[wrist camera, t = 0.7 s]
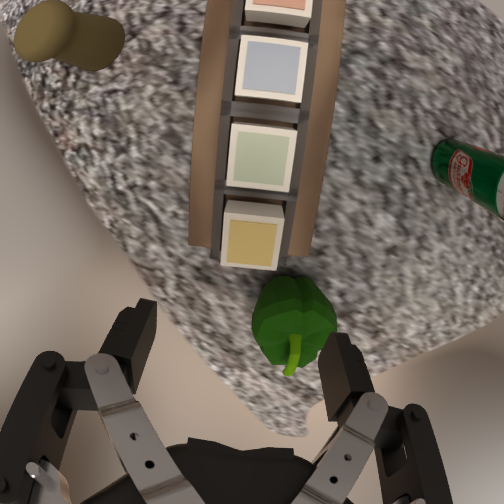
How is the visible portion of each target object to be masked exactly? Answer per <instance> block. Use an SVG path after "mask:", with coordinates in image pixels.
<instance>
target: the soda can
mask: <svg viewBox="0 0 504 504" xmlns="http://www.w3.org/2000/svg"><path fill="white" fill-rule="evenodd" d="M432 162H433V170H434V173H435V176H436V177H437V179H438V180H439V181H440V182H441V183H443V184H445V185H447V186H448V187H450V188H452V189H454V190H456V191H457V192H459V193H461V194H462V195H464V196H466V197H467V198H469V199H471V200H472V201H474V202H476V203H477V204H479V205H481V206H482V207H484V208H485V209H487V210H488V211H490V212H492V213H493V214H495V215H496V216H498V217H499V218H501V219H502V220H504V156H502V155H500V154H497V153H494V152H491V151H488V150H486V149H483V148H480V147H477V146H474V145H470V144H467V143H464V142H461V141H457V140H454V139H447V140H445V141H443V142H441V143H440V144H439V145H438V147H437V148H436V150H435V152H434V155H433V161H432Z"/></svg>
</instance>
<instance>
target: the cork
mask: <svg viewBox="0 0 504 504" xmlns="http://www.w3.org/2000/svg"><path fill="white" fill-rule="evenodd" d="M124 40H125V33H124V29H123V27H122V25H121V24H120V23H119V22H118V21H117V20H115V19H113V18H109V17H104V16H99V15H93V14H87V13H80V12H73V10H72V9H71V8H70V7H69V6H68V5H67V4H66V3H64V2H62V1H58V0H48V1H43V2H41V3H39V4H37V5H35V6H34V7H32V8H31V9H30V10H29V11H28V12H27V13H26V14H25V15H24V16H23V18H22V19H21V20H20V22H19V24H18V26H17V28H16V32H15V36H14V46H15V50H16V52H17V53H18V55H19V56H20V57H21V58H22V59H24V60H27V61H29V62H43V61H46V60H48V59H50V58H53V59H56V60H59V61H62V62H65V63H68V64H71V65H73V66H76V67H79V68H82V69H84V70H87V71H97V70H101V69H104V68H105V67H107V66H108V65H110V64H111V63H112V62H113V61H114V60H115V59H116V58H117V57H118V55H119V53H120V52H121V50H122V48H123V44H124Z"/></svg>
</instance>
